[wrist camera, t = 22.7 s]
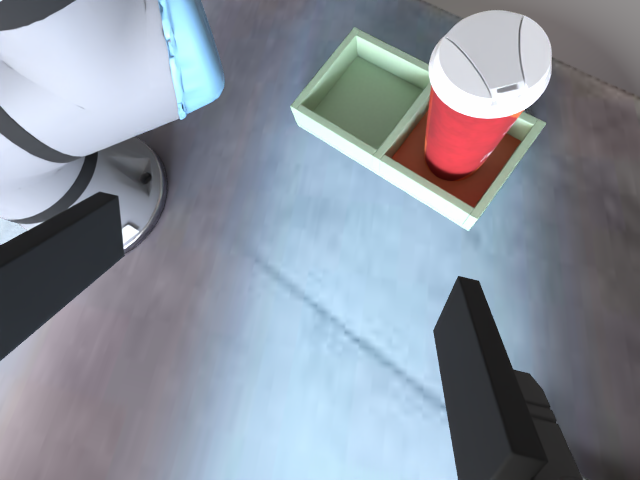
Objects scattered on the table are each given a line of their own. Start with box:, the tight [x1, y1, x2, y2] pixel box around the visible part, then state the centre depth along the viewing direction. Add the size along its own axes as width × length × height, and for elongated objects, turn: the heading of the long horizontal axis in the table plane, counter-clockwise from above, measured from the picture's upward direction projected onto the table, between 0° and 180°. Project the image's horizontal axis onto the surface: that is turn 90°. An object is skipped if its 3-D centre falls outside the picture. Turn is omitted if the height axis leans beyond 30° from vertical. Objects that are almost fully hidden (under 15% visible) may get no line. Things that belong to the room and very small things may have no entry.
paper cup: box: [424, 10, 552, 181], centre depth 30 cm, size 8×8×14 cm
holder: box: [290, 27, 546, 231], centre depth 37 cm, size 21×11×4 cm, turn 52°
